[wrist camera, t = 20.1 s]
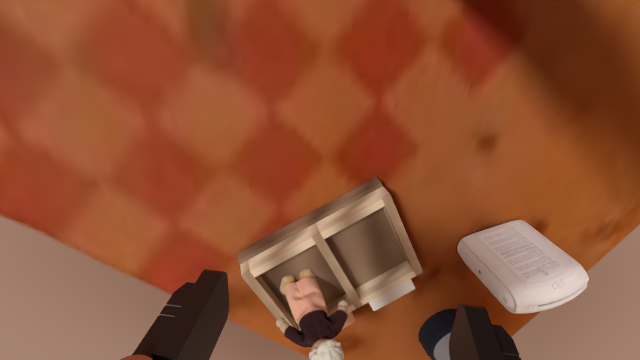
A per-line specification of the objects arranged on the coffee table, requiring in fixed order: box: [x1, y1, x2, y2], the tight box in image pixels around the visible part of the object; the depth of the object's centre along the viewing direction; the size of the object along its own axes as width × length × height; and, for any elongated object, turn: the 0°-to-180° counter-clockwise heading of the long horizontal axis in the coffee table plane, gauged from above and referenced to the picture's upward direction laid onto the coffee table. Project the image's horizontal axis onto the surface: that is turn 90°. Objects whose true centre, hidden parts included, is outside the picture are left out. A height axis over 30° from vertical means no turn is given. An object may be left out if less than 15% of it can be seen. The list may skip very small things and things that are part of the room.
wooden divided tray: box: [237, 177, 423, 331], centre depth 46 cm, size 18×16×4 cm
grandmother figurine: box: [276, 269, 348, 360], centre depth 40 cm, size 8×4×13 cm, turn 110°
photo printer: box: [457, 220, 589, 314], centre depth 47 cm, size 10×4×12 cm, turn 101°
